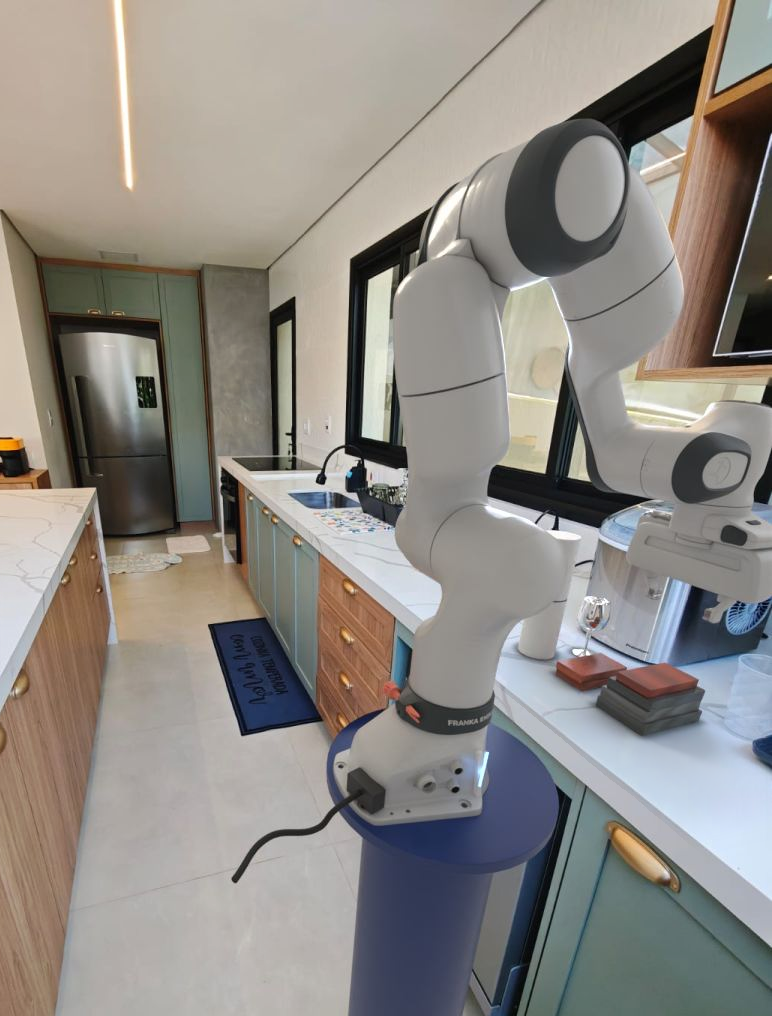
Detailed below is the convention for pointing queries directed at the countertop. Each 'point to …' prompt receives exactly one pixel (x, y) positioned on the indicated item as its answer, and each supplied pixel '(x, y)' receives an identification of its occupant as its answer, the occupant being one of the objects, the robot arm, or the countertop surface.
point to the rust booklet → (656, 680)
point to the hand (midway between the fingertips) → (679, 609)
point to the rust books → (588, 670)
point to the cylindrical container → (550, 609)
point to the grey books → (650, 707)
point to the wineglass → (592, 619)
